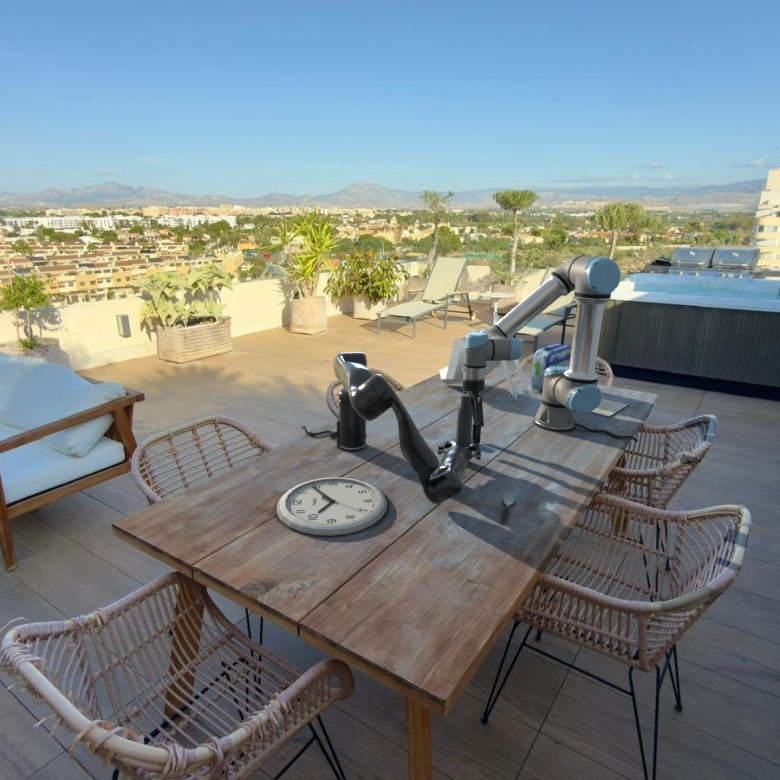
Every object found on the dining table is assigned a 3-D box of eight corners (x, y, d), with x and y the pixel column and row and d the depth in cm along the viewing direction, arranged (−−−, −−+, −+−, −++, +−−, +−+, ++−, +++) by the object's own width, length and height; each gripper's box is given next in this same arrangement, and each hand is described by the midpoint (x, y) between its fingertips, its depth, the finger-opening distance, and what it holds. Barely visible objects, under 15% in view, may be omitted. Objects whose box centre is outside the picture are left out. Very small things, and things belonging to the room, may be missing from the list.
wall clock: (392, 527, 129) (268, 531, 127) (391, 533, 130) (269, 537, 127) (383, 473, 158) (282, 475, 155) (383, 478, 158) (282, 480, 156)
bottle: (466, 458, 173) (470, 392, 167) (471, 464, 169) (476, 397, 162) (452, 459, 172) (456, 393, 166) (457, 465, 168) (461, 397, 161)
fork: (496, 524, 135) (497, 517, 134) (505, 496, 149) (506, 489, 148) (506, 526, 134) (507, 519, 133) (514, 497, 148) (515, 491, 148)
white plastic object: (461, 429, 252) (437, 405, 227) (444, 352, 274) (420, 323, 250) (535, 404, 240) (518, 377, 215) (510, 326, 262) (492, 293, 237)
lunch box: (547, 396, 238) (552, 351, 232) (526, 391, 246) (531, 347, 239) (574, 385, 256) (579, 343, 250) (554, 380, 263) (559, 340, 257)
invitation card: (608, 416, 214) (573, 407, 224) (608, 416, 214) (573, 408, 224) (628, 404, 229) (594, 396, 238) (628, 405, 229) (594, 397, 238)
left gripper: (479, 454, 153) (487, 433, 168) (431, 447, 157) (443, 427, 172) (477, 477, 155) (485, 454, 170) (430, 470, 159) (442, 448, 175)
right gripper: (453, 368, 189) (450, 423, 196) (474, 389, 166) (470, 450, 172) (473, 368, 190) (469, 423, 197) (496, 388, 167) (491, 449, 173)
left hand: (464, 441), depth 171 cm, fingers closed on bottle, 4 cm apart
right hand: (469, 436), depth 185 cm, fingers open, 13 cm apart
